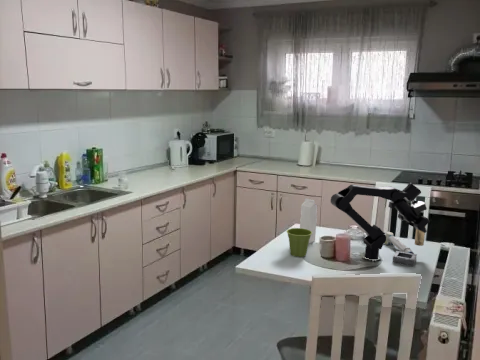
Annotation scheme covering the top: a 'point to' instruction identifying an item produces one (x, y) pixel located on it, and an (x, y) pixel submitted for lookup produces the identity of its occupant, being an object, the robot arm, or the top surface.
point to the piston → (419, 237)
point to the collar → (404, 258)
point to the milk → (309, 217)
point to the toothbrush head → (396, 243)
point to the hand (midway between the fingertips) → (423, 230)
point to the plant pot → (298, 241)
